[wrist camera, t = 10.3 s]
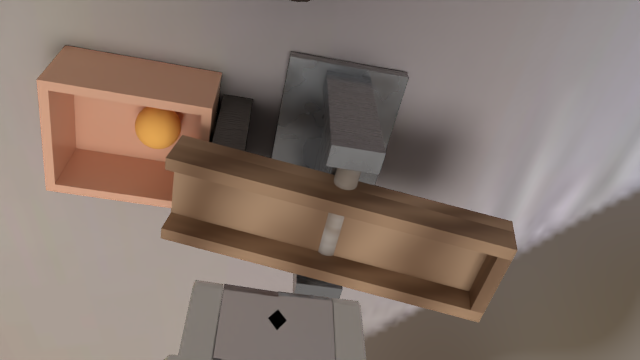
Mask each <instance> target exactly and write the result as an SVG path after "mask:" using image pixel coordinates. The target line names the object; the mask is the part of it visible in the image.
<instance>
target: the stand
mask: <svg viewBox="0 0 640 360" xmlns="http://www.w3.org/2000/svg"><path fill="white" fill-rule="evenodd" d="M408 79H409V77H408V73H407V72H401V71H396V70H391V69H385V68H380V67H374V66H369V65H363V64H358V63H352V62H347V61H341V60H336V59H330V58H325V57H319V56H314V55H308V54H303V53H297V52H292V51H291V54H290V59H289V65H288V70H287V75H286V81H285V86H284V92H283V97H282V102H281V108H280V113H279V119H278V124H277V129H276V135H275V140H274V146H273V151H272V156H271V158H272V159H276V160H280V161H283V162H287V163H291V164H295V165H299V166H302V167H306V168H310V169H314V170H318V171H322V172H325V173H329V174H333V175H335V173H336V169H337V168H341V169H347V170H354V171H360V172H361V174H360V177H359V181H360V182H363V183H367V184H371V185H375V182H376V179H377V176H378V174H379V173H380V170H381V167H382V164H383V161H384V158H385V155H386V152H385V151H386V148H387V145H388V142H389V139H390V135H391V132H392V129H393V126H394V123H395V120H396V117H397V113H398V110H399V107H400V104H401V101H402V98H403V95H404V91H405V88H406V85H407V82H408ZM252 101H253V99H249V98H243V97H237V96H231V95H225V94H224V96H223V100H222V104H221V108H220V113H219V117H218V121H217V125H216V129H215V133H214V137H213V141H212V143H215V144H219V145H222V146H226V147H230V148H234V149H238V150H241V151H245V147H246V140H247V134H248V127H249V121H250V114H251V108H252ZM341 292H342V286H340V285H336V284H332V283H328V282H324V281H321V280H317V279H313V278H309V277H306V276H302V275H298V274H294V273H293V293H295V294H304V295H312V296H321V297H329V298H330V299H331V298H337V299H339V298H340V295H341Z"/></svg>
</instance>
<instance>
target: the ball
mask: <svg viewBox="0 0 640 360" xmlns="http://www.w3.org/2000/svg"><path fill="white" fill-rule="evenodd" d="M135 131H136V135H137V137H138V138H139V140H140V141H141V142H142V143H143V144H144V145H146V146H148V147H150V148H153V149H164V148H167V147H169V146H171V145H172V144H174V143H175V142H176V140H177V139H178V137H179V135H180V132H181V123H180V119H179V117H178V115H177V114H176V113H175V112H174V111H170V110H164V109H158V108H152V107H146V108H144V109H143V110H142V111H141V112H140V113H139V114H138V116H137V118H136V121H135Z"/></svg>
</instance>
